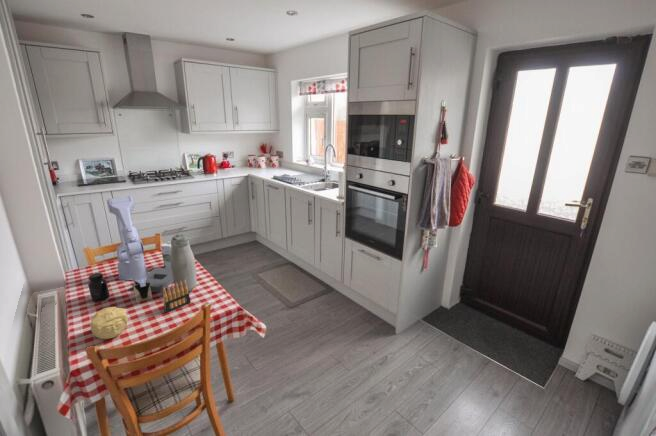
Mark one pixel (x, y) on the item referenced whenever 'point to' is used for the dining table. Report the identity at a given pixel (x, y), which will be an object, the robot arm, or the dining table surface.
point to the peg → (138, 296)
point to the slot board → (159, 279)
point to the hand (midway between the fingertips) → (143, 294)
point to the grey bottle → (183, 262)
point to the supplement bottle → (98, 287)
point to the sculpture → (109, 322)
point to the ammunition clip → (175, 297)
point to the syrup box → (166, 254)
